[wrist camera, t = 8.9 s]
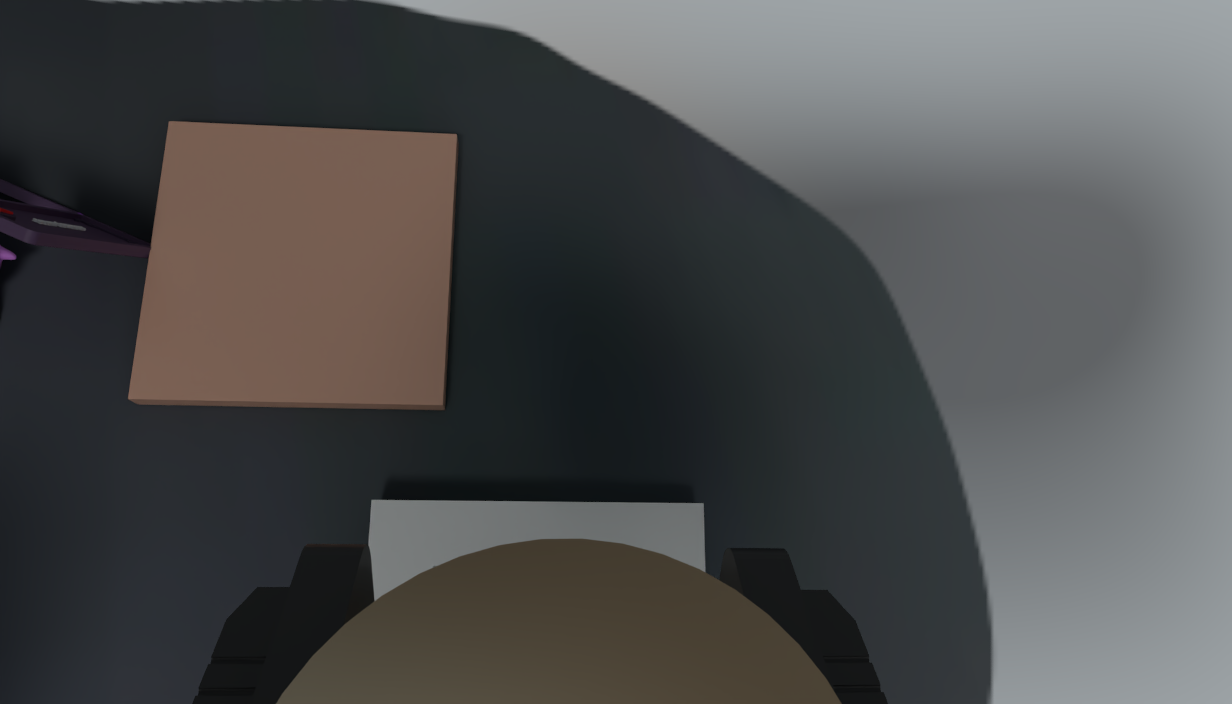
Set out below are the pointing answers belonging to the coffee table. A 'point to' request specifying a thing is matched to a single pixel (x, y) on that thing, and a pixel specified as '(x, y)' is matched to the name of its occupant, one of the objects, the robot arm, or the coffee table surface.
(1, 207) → the purple toy figure
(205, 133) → the terracotta tile
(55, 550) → the coffee table surface
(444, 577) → the birch peg
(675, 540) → the pocket block
